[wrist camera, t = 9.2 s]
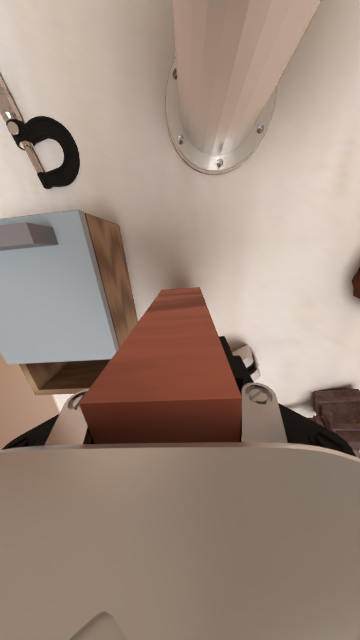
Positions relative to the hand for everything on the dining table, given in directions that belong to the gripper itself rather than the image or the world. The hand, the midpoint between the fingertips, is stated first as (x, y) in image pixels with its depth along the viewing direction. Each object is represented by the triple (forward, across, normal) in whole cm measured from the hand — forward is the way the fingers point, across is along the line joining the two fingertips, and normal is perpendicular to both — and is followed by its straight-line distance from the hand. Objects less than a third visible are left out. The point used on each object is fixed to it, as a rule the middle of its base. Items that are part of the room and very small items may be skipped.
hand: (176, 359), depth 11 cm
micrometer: (+20, +17, -24) cm, 36 cm away
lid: (+10, +17, -3) cm, 20 cm away
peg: (+12, 0, 0) cm, 12 cm away
